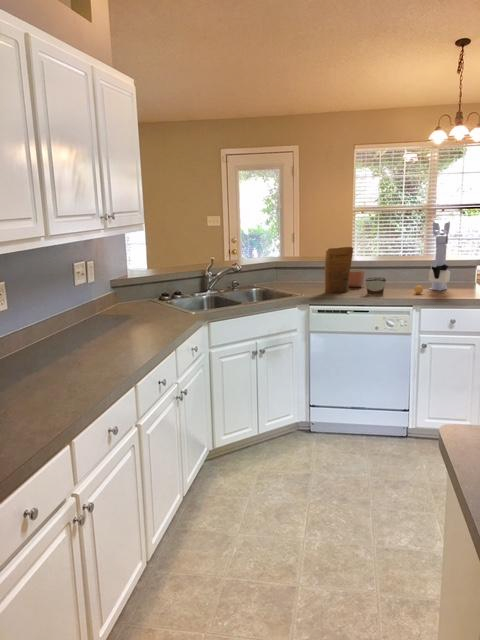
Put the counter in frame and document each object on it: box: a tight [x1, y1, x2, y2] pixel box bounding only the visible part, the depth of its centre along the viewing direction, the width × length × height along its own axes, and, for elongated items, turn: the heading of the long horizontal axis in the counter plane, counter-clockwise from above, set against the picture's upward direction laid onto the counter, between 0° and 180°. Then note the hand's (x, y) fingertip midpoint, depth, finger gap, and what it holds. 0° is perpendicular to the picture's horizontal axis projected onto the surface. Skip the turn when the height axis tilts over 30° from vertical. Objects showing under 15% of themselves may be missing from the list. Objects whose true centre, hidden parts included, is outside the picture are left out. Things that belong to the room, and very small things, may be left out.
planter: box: [348, 268, 366, 289], centre depth 342 cm, size 12×12×11 cm
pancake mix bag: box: [324, 246, 354, 294], centre depth 320 cm, size 7×19×28 cm, turn 104°
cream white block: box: [428, 269, 451, 283], centre depth 311 cm, size 6×10×6 cm, turn 43°
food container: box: [364, 276, 387, 296], centre depth 314 cm, size 12×6×10 cm, turn 84°
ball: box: [413, 285, 424, 295], centre depth 313 cm, size 5×5×5 cm
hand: (439, 277), depth 311 cm, fingers closed on cream white block, 6 cm apart
